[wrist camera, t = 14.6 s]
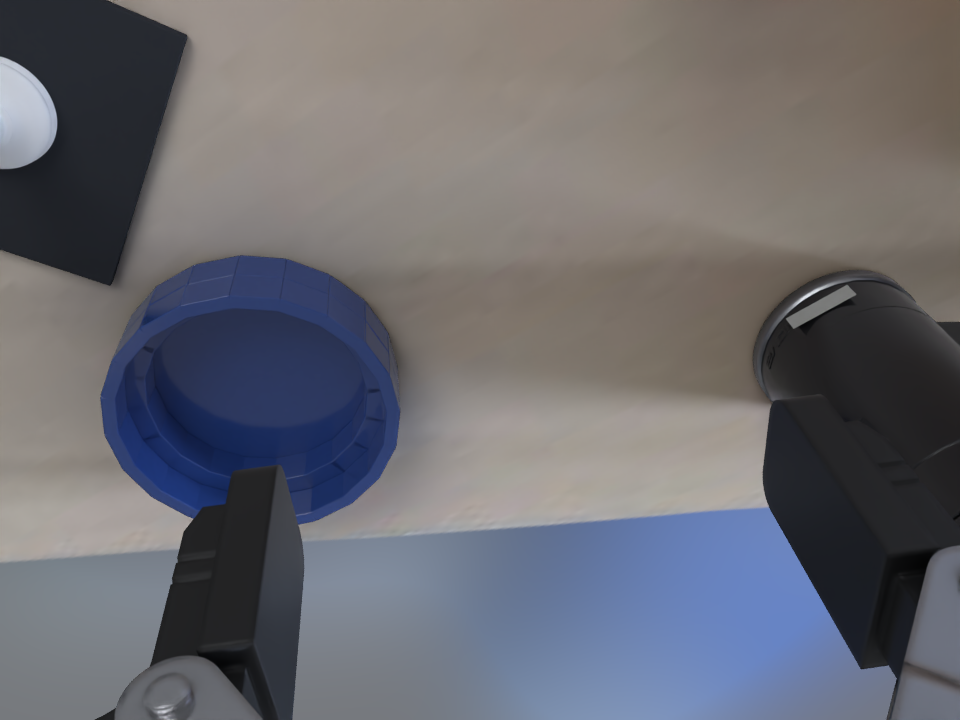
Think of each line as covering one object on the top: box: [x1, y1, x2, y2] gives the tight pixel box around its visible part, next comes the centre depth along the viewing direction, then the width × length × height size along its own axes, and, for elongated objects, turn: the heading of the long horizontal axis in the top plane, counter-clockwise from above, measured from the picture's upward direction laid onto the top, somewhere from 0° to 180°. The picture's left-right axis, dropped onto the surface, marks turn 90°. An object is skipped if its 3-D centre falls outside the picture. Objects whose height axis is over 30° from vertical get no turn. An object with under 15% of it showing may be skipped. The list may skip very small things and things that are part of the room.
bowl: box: [100, 255, 400, 525], centre depth 46 cm, size 14×14×4 cm
